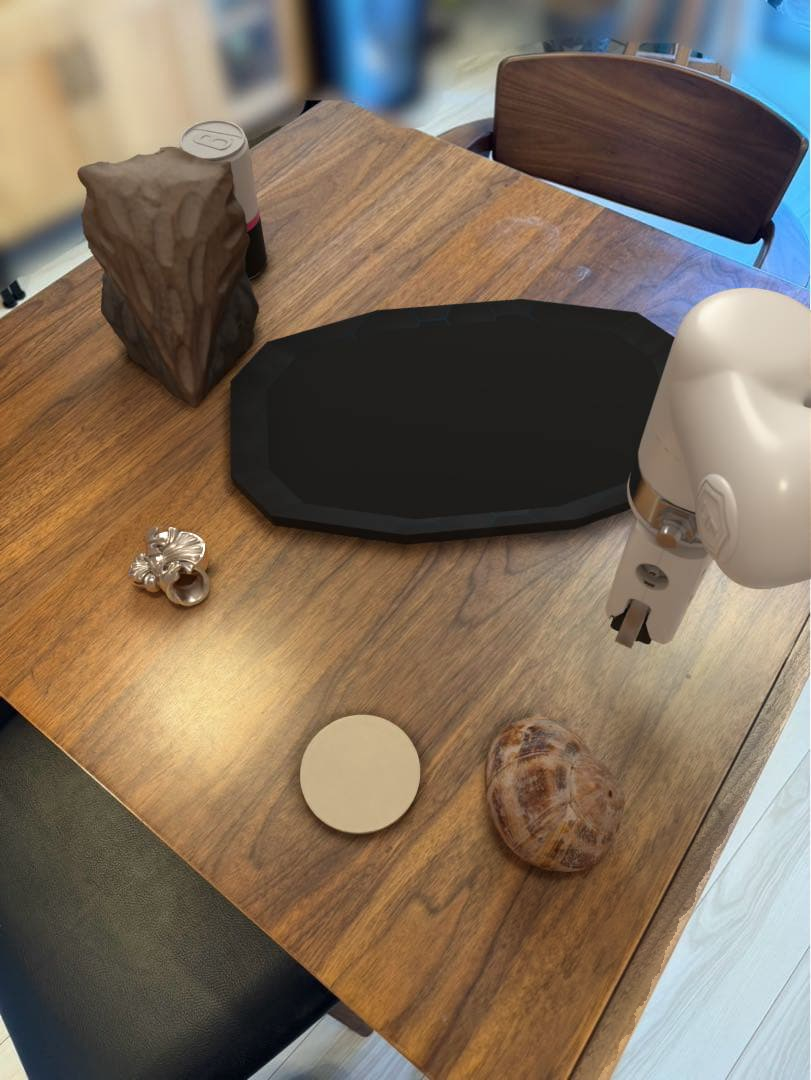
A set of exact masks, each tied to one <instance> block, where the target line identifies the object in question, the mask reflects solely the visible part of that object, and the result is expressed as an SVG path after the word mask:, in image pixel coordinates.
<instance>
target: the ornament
mask: <svg viewBox="0 0 811 1080" xmlns="http://www.w3.org/2000/svg"><path fill="white" fill-rule="evenodd" d="M143 543H144V545H145V551H146V552H144V551H141V552H140V551H139V552H138V554H136V556H135V558H134V562H132V563H131V564H130V566H129V569H128V572H127V579H128V581H129V582H130V583H131V585H133V586H135V587H137V588H144V589H145V590H146V591H147V592H151V593H157V592H160V590H162V591H163V592H164V593H165V595H166V596H167V598H168V599H169V601H171V602H172V603H173V604H177V605H179V604H180V605H182V606H183V607H193V606H195V605H198V604H200V603H201V602H202V601H203V600H205V598H206V597H207V595H208V594H209V592H210V588H211V583H210V577H209V575H208V574H207V572H206V570H207V568H208V566H209V563H210V552H209V549H208V546H207V544H206V543H205V541H204V540H203V538H201V537H200V536H199V535H197V534H195V533H193V532H190V531H189V532H188V531H187V528H185V527H180V528H175V527H174V526H172V525H171V526H167V529H166V531H161V532H160V527H158V526H156V525H154V526H151V527H150V528H149V529H148V530H147V532H146V533H145V535H144V536H143ZM181 575H190V576H194V577H196V579H195V580H193V582H192V583H191V584H188V585H179V584H175V582H177V581H178V580H179V579H180V576H181Z"/></svg>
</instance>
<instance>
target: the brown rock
mask: <svg viewBox="0 0 811 1080" xmlns="http://www.w3.org/2000/svg"><path fill="white" fill-rule="evenodd" d="M76 173H77V178H78V180H79V181H80V183H81V185H82V186H83V187H84V188H85V191H86V194H85V195H86V196H85V201H84V206H83V208H82V212H81V213H80V216H81V220H82V221H81V223H82V224H81V225H82V233H83V236H84V237H85V239H86V241H87V248H88V249H89V250H90V253H91V254H92V256H93V257H94V259H95V260H96V261H97V262H98V264H99V266H100V267H101V268H102V269H103V271H104V273H102V274H101V283H102V287H101V296H100V311H101V314H102V316H103V317H104V319H105V320H106V322H107V323H108V324H109V326H110V328H111V329H112V331H113V332H114V334H115V335H116V336H117V337H118V339H119V340H120V341H121V343H122V344H123V346H124V347H125V349H126V352H127V355H128V357H129V358H130V359H131V360H132V361H133V362H135V363H136V364H138V365H140V366H142V367H144V368H145V371H146V373H147V374H148V375H149V376H152V377H155V378H156V379H157V381H158V382H160V383H162V384H163V385H165V388H166V390H167V391H168V392H169V393H170V394H171V395H173V396H175V397H177V398H179V399H181V400H183V402H185V403H186V404H187V405H189V406H191V407H192V408H194V409H196V408H198V407H199V406H200V405H201V403H202V402H203V400H205V398H206V397H208V395H209V394H210V392H211V391H212V390H213V388H214V387H216V386H217V385H219V383H220V382H221V380H222V379H223V377H224V376H225V374H226V373H227V372H228V371H229V370H232V369H233V368H234V367H235V366H236V364H237V361H238V359H239V357H240V356H241V355H242V354H244V353H245V352H247V351H248V350H249V349H250V348H251V347H252V345H253V343H254V338H255V332H254V331H255V330H254V329H255V326H256V322H257V318H258V315H259V313H260V305H259V302H258V301H257V298H256V295H255V293H254V289H253V286H252V282H251V279H249V278H248V276H247V274H246V271H245V256H246V251H247V248H248V246H249V243H250V238H249V236H248V234H247V223H246V220H245V219H246V217H245V213H244V210H243V208H242V206H241V205H240V203H239V202H238V201H237V199H236V196H235V194H234V192H233V188H234V182H233V173H232V170H231V162H228V161H220V162H211V161H209V160H206V159H204V158H201V157H198V156H195V155H193V154H190V153H188V152H186V151H184V150H182V149H180V148H179V147H177V146H162V147H160V148H159V150H158V151H156V152H153V153H149V154H141V153H138V154H136V155H134V156H132V157H130V158H128V159H126V160H122V161H118V162H114V163H112V162H109V161H97V162H94V163H91V164H87V165H84V166H80V167H79V168H78V170H77V172H76Z"/></svg>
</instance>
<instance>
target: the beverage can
mask: <svg viewBox="0 0 811 1080" xmlns="http://www.w3.org/2000/svg"><path fill="white" fill-rule="evenodd" d="M244 131H245V130H244V129H243V128H242V127H241V126H239V124H237V123H235V122H233V121H230V120H226V119H206V120H202V121H198V122H196V123H193V124H191V125H190V126H188V127H187V128H185V130H183V132H182V133H181V134H180V137H179V147H178V148H180V149H182V150H184V151H186V152H188V153H190V154H193V155H195V156H198V157H201V158H204V159H206V160H209V161H211V162H220V161H228V162H231V170H232V173H233V182H234V188H233V192H234V194H235V196H236V199H237V201H238V202H239V203H240V205H241V206H242V208H243V210H244V213H245V217H246V219H245V220H246V223H247V234H248V236H249V238H250V243H249V246H248V248H247V251H246V256H245V271H246V274H247V276H248V278H249V280H251V279H253V278H255V277H257V275H259V274H260V273H261V272H262V271H263V270H264V269H265V267H266V266H267V262H268V255H267V254H268V253H267V249H266V244H265V243H266V241H265V237H264V236H265V235H264V231H263V225H262V219H261V213H260V207H259V200H258V195H257V189H256V188H257V187H256V181H255V177H254V172H253V171H254V170H253V165H252V158H251V152H250V147H249V140H248V139H247V136H246V134H245V132H244Z"/></svg>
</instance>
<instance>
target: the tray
mask: <svg viewBox="0 0 811 1080" xmlns="http://www.w3.org/2000/svg"><path fill="white" fill-rule="evenodd" d="M674 338H675V336H674V335H673V334H671V333H669V332H668V331H666V330H665V329H663V328H662V327H660V326H659V325H657V324H656V323H654V322H652V321H651V320H649V319H648V318H646V317H645V316H643V315H642V314H640V313H639V312H638V311H631V310H630V311H629V310H622V309H621V310H620V309H612V308H604V307H594V306H587V305H586V306H585V305H578V304H571V303H570V304H568V303H562V302H561V303H560V302H553V301H545V300H544V301H543V300H537V299H536V300H535V299H527V298H515V299H514V298H513V299H503V300H501V299H500V300H488V301H476V302H463V303H451V304H450V303H449V304H438V305H437V304H436V305H426V306H425V305H424V306H412V307H400V308H399V307H398V308H386V309H376V310H372V311H369V312H366V313H362V314H358V315H355V316H352V317H348V318H345V319H341V320H338V321H334V322H331V323H326V324H324V325H321V326H317V327H313V328H310V329H307V330H302V331H299V332H296V333H293V334H289V335H285V336H282V337H279V338H276V339H272V340H268V341H266V342H265V343H264V344H263V345H262V346H261V347H260V349H258V350H257V351H256V353H255V354H253V356H252V357H251V358H250V359H249V360H248V361H247V362H246V364H245V365H244V366H242V368H240V370H239V371H238V372H237V373H236V374H235V376H233V377H232V379H231V380H230V382H229V384H230V385H229V386H230V389H229V390H230V393H229V394H230V395H229V397H230V401H229V402H230V403H229V404H230V406H229V407H230V409H229V410H230V411H229V413H230V414H229V416H230V417H229V419H230V421H229V422H230V423H229V424H230V427H229V428H230V429H229V430H230V431H229V433H230V434H229V435H230V437H229V438H230V441H229V443H230V446H229V448H230V449H229V450H230V451H229V453H230V454H229V458H230V459H229V460H230V462H229V464H230V465H229V467H230V470H229V473H230V479H231V482H232V485H233V486H234V487H235V488H236V489H237V490H238V491H239V492H240V493H241V494H242V495H243V496H244V497H245V498H246V499H247V500H248V501H249V502H250V503H251V504H252V505H253V506H254V507H255V508H256V509H257V510H258V511H259V512H260V513H261V514H262V515H263V516H264V517H265V518H266V519H267V520H268V521H269V522H270V523H271V524H272V526H277V527H282V528H283V527H284V528H290V529H298V530H304V531H311V532H319V533H325V534H331V535H339V536H346V537H353V538H359V539H366V540H373V541H380V542H387V543H393V544H394V543H395V544H401V545H412V544H414V545H415V544H424V543H434V542H435V543H437V542H446V541H459V540H467V539H468V540H469V539H478V538H479V539H480V538H489V537H500V536H512V535H522V534H533V533H544V532H556V531H566V530H575V529H578V528H581V527H583V526H586V525H589V524H592V523H595V522H597V521H602V520H603V519H607V518H609V517H612V516H615V515H617V514H620V513H623V512H626V511H629V510H632V509H631V507H630V504H629V502H628V496H627V484H628V480H629V476H630V473H631V471H632V468H633V465H634V462H635V458H636V455H637V452H638V449H639V446H640V443H641V440H642V436H643V433H644V430H645V427H646V424H647V421H648V418H649V415H650V412H651V409H652V405H653V402H654V399H655V396H656V393H657V390H658V387H659V384H660V381H661V378H662V375H663V372H664V369H665V366H666V363H667V360H668V357H669V353H670V350H671V347H672V344H673V341H674Z"/></svg>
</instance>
